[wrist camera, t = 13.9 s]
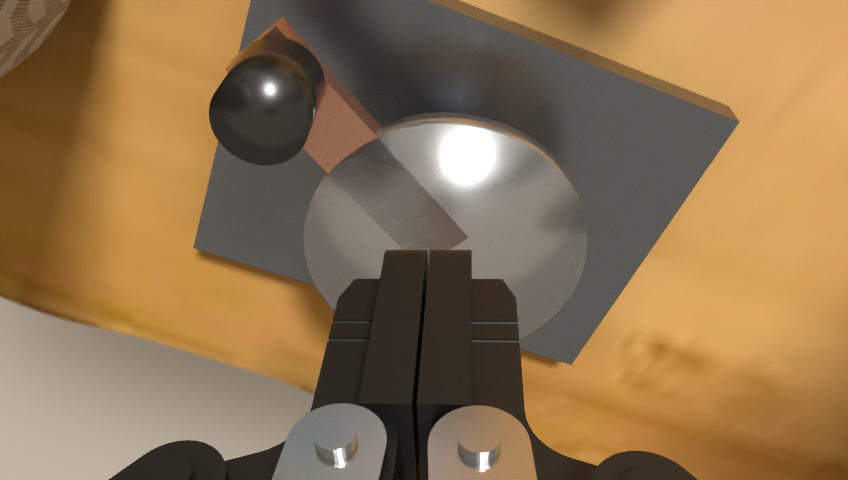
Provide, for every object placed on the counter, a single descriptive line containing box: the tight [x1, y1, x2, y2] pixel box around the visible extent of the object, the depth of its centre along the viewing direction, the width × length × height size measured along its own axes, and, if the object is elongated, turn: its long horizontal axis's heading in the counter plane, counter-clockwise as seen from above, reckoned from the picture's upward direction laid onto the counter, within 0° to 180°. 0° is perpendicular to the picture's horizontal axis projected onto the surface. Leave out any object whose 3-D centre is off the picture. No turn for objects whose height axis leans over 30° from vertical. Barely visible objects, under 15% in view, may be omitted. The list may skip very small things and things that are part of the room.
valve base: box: [194, 0, 739, 365], centre depth 31 cm, size 20×15×5 cm
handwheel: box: [209, 17, 587, 339], centre depth 26 cm, size 16×11×4 cm
